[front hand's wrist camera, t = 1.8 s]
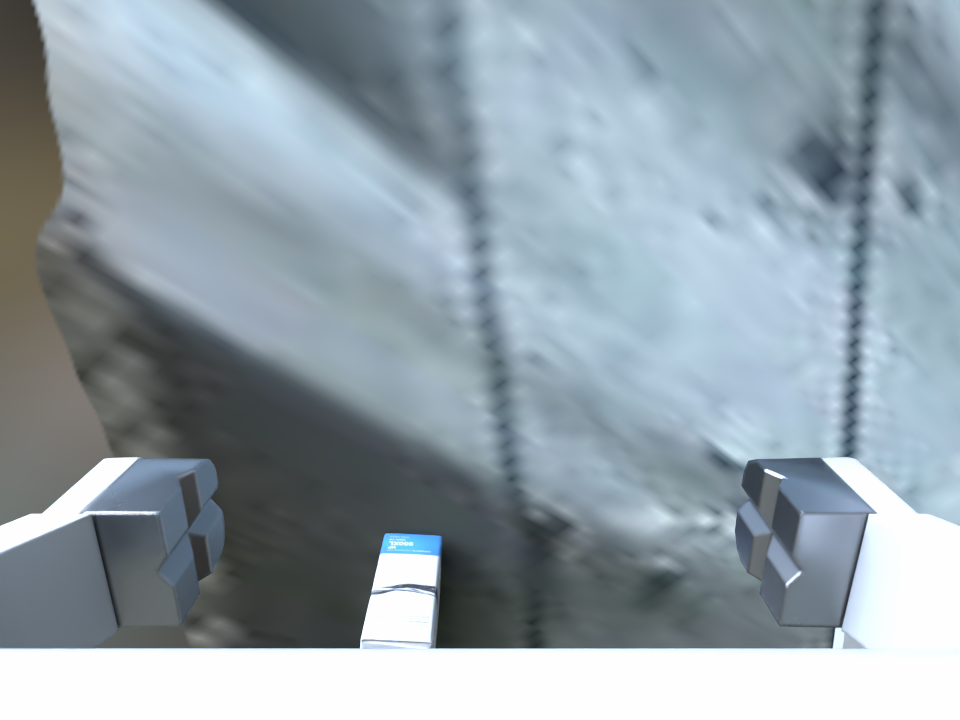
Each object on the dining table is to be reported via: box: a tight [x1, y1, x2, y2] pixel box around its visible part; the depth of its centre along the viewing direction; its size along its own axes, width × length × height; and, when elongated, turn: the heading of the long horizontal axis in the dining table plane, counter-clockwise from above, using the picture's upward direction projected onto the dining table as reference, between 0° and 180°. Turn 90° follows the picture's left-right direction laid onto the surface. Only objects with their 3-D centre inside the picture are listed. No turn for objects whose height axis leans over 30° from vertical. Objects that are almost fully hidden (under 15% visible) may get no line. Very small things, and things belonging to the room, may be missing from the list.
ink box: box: [360, 534, 442, 649], centre depth 49 cm, size 8×5×12 cm, turn 176°
